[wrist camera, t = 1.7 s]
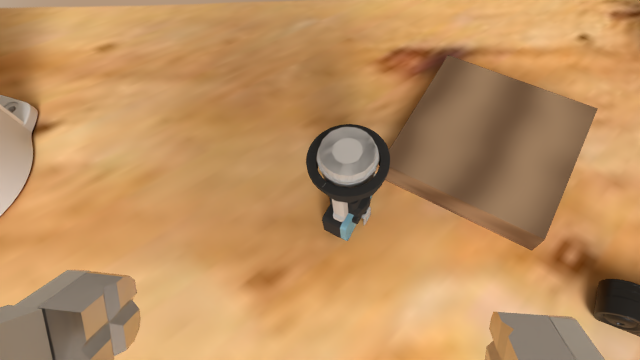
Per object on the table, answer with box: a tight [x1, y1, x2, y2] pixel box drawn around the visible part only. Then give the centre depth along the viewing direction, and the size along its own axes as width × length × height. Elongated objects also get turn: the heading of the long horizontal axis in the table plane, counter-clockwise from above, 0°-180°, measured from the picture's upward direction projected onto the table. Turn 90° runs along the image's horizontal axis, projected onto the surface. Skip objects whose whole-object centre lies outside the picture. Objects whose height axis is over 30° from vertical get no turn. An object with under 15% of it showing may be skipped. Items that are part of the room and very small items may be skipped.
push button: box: [306, 124, 390, 241], centre depth 30 cm, size 7×5×10 cm
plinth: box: [385, 55, 597, 250], centre depth 35 cm, size 13×13×2 cm
